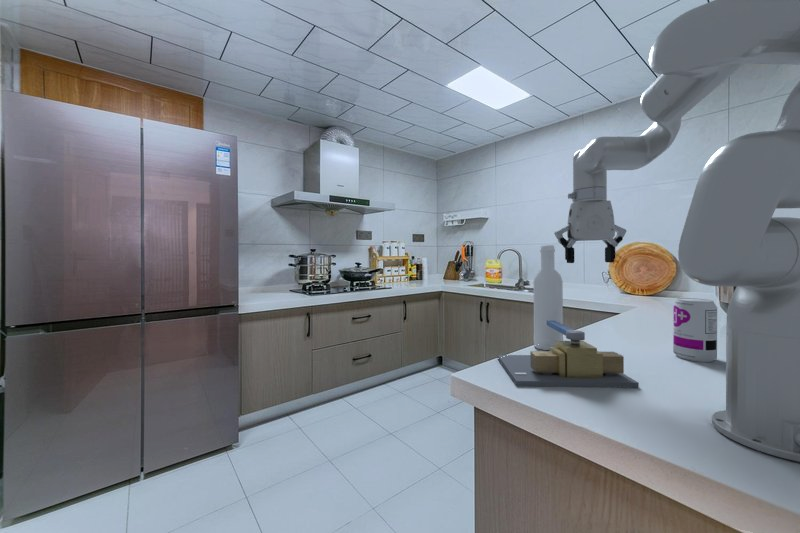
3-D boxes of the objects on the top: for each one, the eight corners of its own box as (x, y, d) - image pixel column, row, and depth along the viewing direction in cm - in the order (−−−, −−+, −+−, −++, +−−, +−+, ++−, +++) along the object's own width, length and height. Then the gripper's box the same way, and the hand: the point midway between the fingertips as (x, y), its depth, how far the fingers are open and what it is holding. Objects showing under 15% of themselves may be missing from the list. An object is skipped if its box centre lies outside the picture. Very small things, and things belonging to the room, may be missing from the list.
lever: (587, 340, 68) (587, 334, 68) (570, 340, 68) (570, 333, 68) (557, 325, 84) (557, 319, 84) (543, 325, 84) (543, 319, 84)
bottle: (560, 344, 96) (560, 245, 96) (566, 352, 89) (565, 244, 88) (532, 343, 99) (531, 246, 98) (535, 350, 91) (534, 245, 91)
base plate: (638, 387, 64) (638, 381, 64) (516, 385, 66) (516, 380, 66) (592, 359, 82) (592, 354, 82) (497, 358, 84) (497, 354, 84)
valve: (627, 383, 66) (627, 343, 66) (537, 382, 68) (537, 343, 68) (610, 373, 72) (610, 336, 72) (529, 372, 74) (528, 336, 74)
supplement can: (684, 361, 79) (684, 301, 79) (667, 352, 87) (667, 297, 87) (725, 364, 77) (725, 302, 77) (703, 354, 85) (704, 298, 84)
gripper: (560, 195, 81) (560, 263, 81) (634, 192, 79) (634, 262, 79) (549, 201, 88) (550, 263, 88) (616, 198, 86) (617, 261, 86)
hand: (589, 262), depth 84 cm, fingers open, 9 cm apart
